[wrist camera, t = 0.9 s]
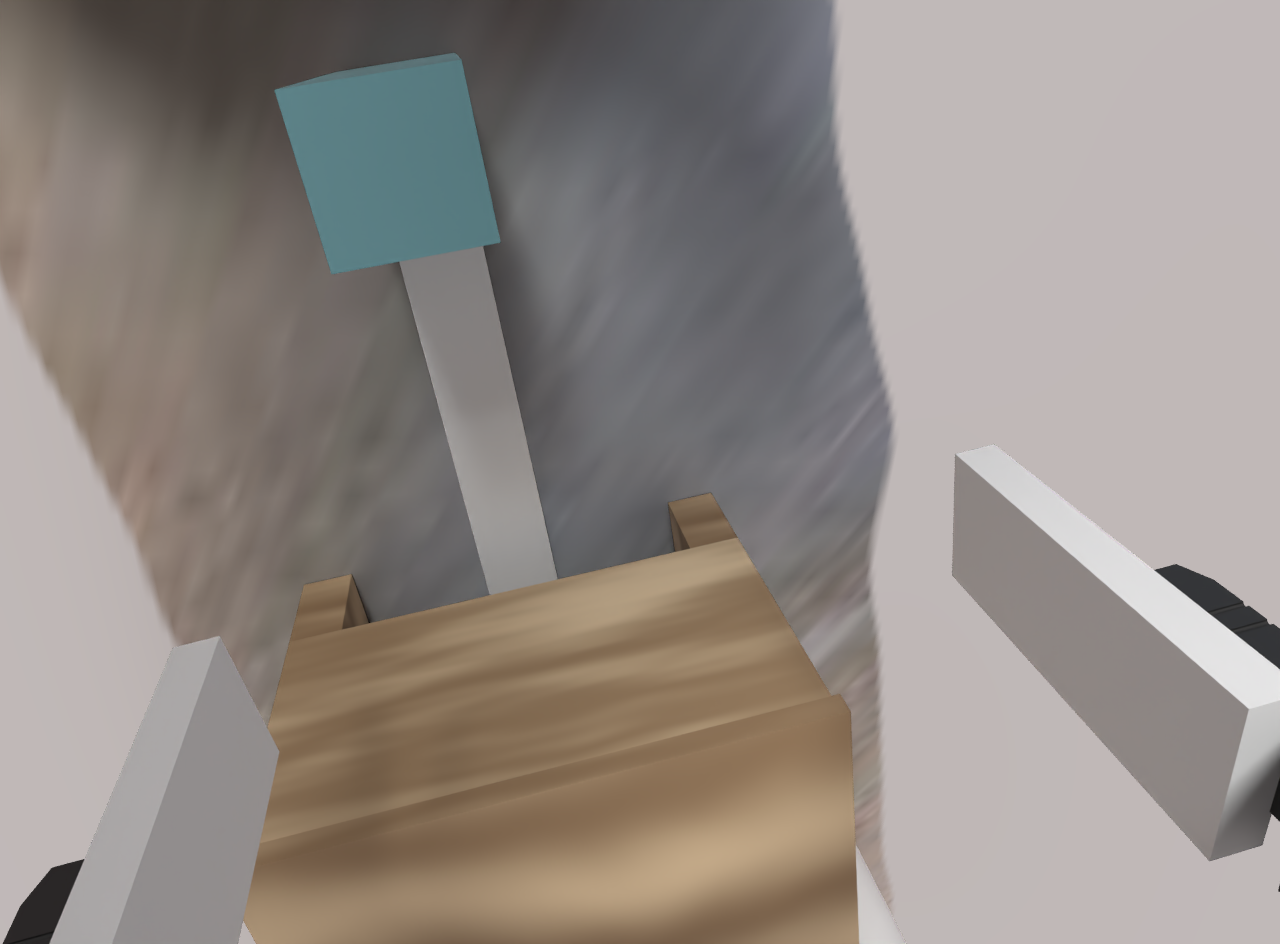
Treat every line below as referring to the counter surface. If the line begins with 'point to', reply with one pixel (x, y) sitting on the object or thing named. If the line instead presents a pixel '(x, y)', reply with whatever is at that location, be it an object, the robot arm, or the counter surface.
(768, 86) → the counter surface
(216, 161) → the counter surface
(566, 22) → the counter surface
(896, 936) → the mug
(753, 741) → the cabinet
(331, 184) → the teal cube mallet
